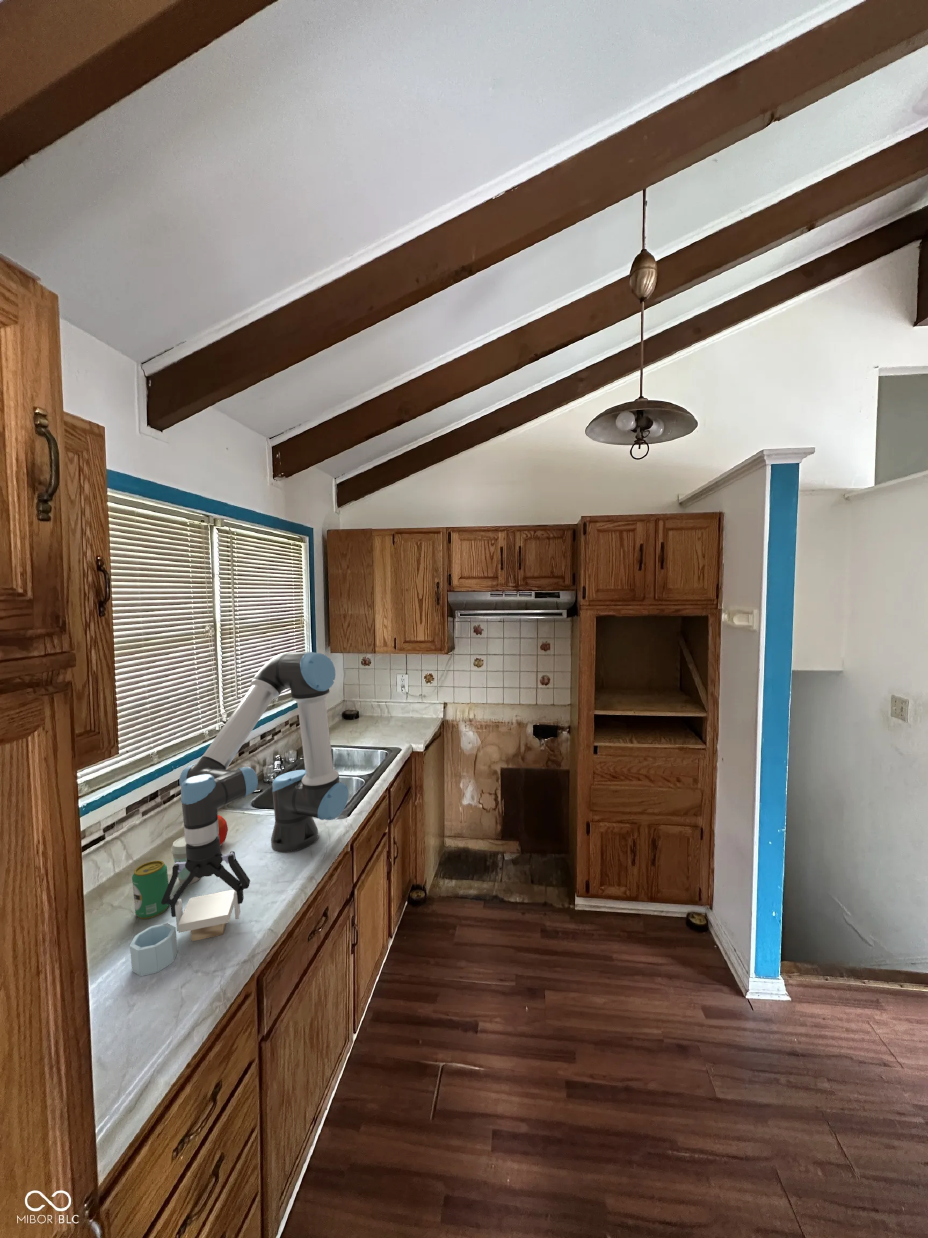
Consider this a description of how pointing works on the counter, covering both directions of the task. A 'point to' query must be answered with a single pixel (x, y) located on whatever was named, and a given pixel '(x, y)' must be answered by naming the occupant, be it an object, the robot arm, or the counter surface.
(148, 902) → the beverage can
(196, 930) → the cork block
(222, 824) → the apple
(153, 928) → the bowl
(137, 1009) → the counter surface
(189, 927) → the ceramic tile
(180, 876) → the coffee cup
